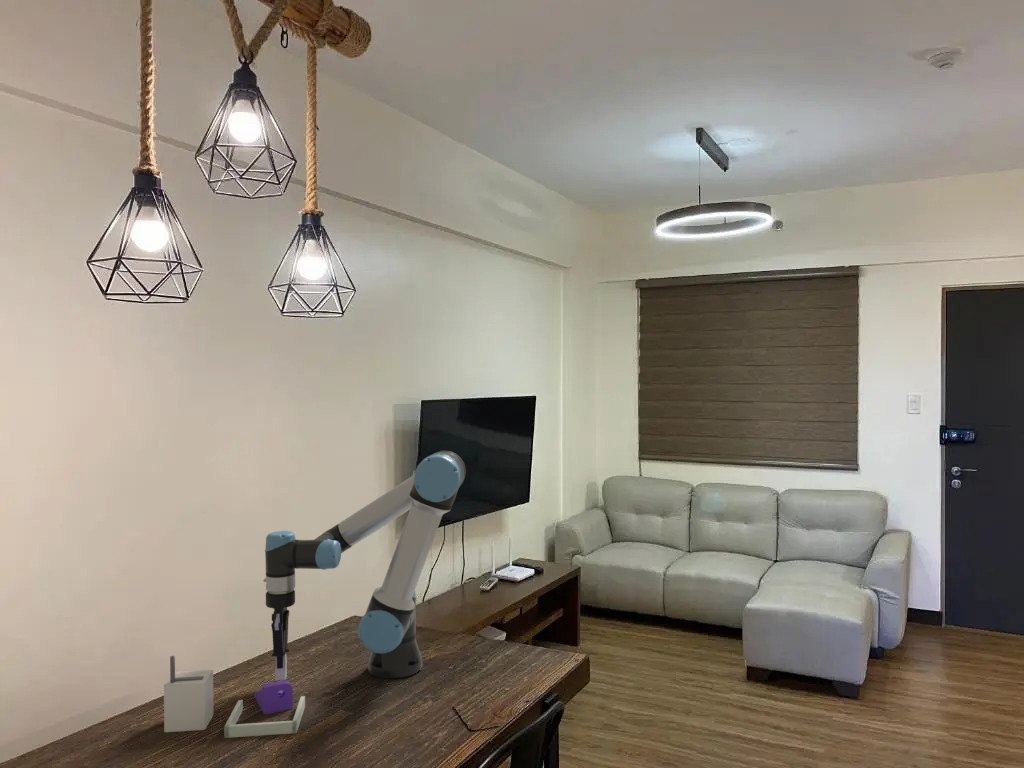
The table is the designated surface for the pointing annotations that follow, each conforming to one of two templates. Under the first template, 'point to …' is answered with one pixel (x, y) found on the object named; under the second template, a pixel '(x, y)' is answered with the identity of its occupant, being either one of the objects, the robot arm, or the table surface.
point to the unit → (188, 700)
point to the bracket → (275, 697)
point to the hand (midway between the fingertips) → (280, 678)
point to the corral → (262, 724)
